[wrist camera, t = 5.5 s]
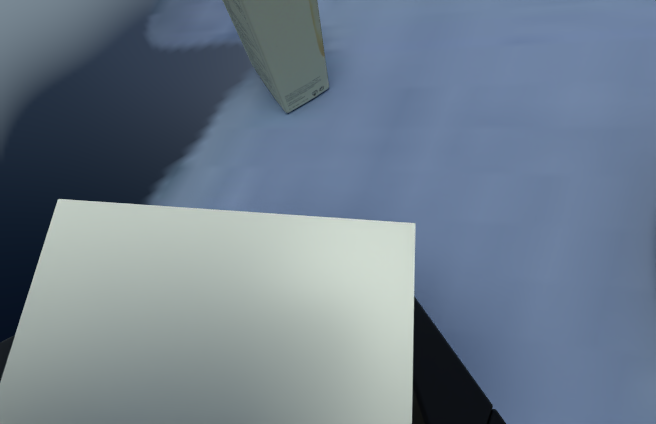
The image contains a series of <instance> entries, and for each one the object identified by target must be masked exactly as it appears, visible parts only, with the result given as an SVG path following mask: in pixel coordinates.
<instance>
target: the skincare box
mask: <svg viewBox="0 0 656 424" xmlns="http://www.w3.org/2000/svg"><path fill="white" fill-rule="evenodd" d="M223 2H224V4H225V7H226V9H227V11H228V13H229V15H230V17H231V20H232V22H233V24H234V26H235V28H236V30H237V33H238V35H239V37H240V39H241V41H242V43H243V46H244V48H245V50H246V52H247V54H248V56H249V59H250V61H251V63H252V65H253V67H254V68H255V70H256V71H257V73H258V75H259V76H260V78H261V79H262V81H263V82H264V84H265V85H266V86H267V88H268V89H269V91H270V92H271V93H272V95H273V96H274V98H275V99H276V100H277V102H278V103H279V104H280V106H281V107H282V108H283V110H284V111H285V112H286V113H289V112H291V111H292V110H294V109H296V108H298V107H299V106H301V105H303V104H304V103H306V102H308V101H309V100H311V99H313V98H315V97H316V96H318V95H319V94H321V93H322V92H324V91H325V90H327V89H328V88H329V83H328V75H327V68H326V61H325V54H324V47H323V39H322V32H321V24H320V17H319V10H318V3H317V0H223Z"/></svg>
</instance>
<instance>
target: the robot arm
mask: <svg viewBox="0 0 656 424" xmlns="http://www.w3.org/2000/svg"><path fill="white" fill-rule="evenodd" d="M14 337H15V335H14V336H13V337H11V338H9V339H7V340H5V341H3V342H1V343H0V382H1V378H2V375H3V372H4V369H5V366H6V363H7V359H8V356H9V353H10V350H11V347H12V344H13V340H14ZM492 408H493V405H492V404H491V402H490V401H489V399H488V398H487V397H486V395H485V394H484V393H483V391H482V390H481V388H480V387H479V386H478V384H477V383H476V381H475V380H474V379H473V377H472V376H471V374H470V373H469V372H468V370H467V369H466V368H465V366H464V365H463V363H462V362H461V361H460V359H459V358H458V356H457V355H456V354H455V352H454V351H453V349H452V348H451V347H450V345H449V344H448V343H447V341H446V340H445V338H444V337H443V336H442V334H441V333H440V331H439V330H438V329H437V327H436V326H435V324H434V323H433V322H432V320H431V319H430V317H429V316H428V315H427V313H426V312H425V311H424V309H423V308H422V306H421V305H420V304H419V302H418V301H417V299H416V298H415V297H414V329H413V389H412V424H506V423H505V422H504V420H503V419H502V417H501V416H500V415H499V413H498V412H497V410H496V409H492Z"/></svg>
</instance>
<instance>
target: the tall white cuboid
mask: <svg viewBox="0 0 656 424" xmlns="http://www.w3.org/2000/svg"><path fill="white" fill-rule="evenodd" d="M414 269H415V223H403V222H388V221H373V220H359V219H344V218H329V217H315V216H300V215H285V214H271V213H256V212H241V211H227V210H212V209H197V208H182V207H168V206H153V205H138V204H124V203H108V202H94V201H80V200H65V199H58V201H57V205H56V208H55V211H54V214H53V217H52V221H51V224H50V227H49V230H48V233H47V236H46V240H45V243H44V246H43V249H42V252H41V255H40V258H39V262H38V265H37V268H36V271H35V274H34V277H33V281H32V284H31V287H30V290H29V293H28V296H27V300H26V303H25V306H24V309H23V312H22V315H21V318H20V322H19V325H18V328H17V331H16V334H15V337H14V340H13V344H12V347H11V350H10V353H9V356H8V359H7V363H6V366H5V369H4V372H3V375H2V378H1V382H0V424H412V389H413V329H414Z"/></svg>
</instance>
